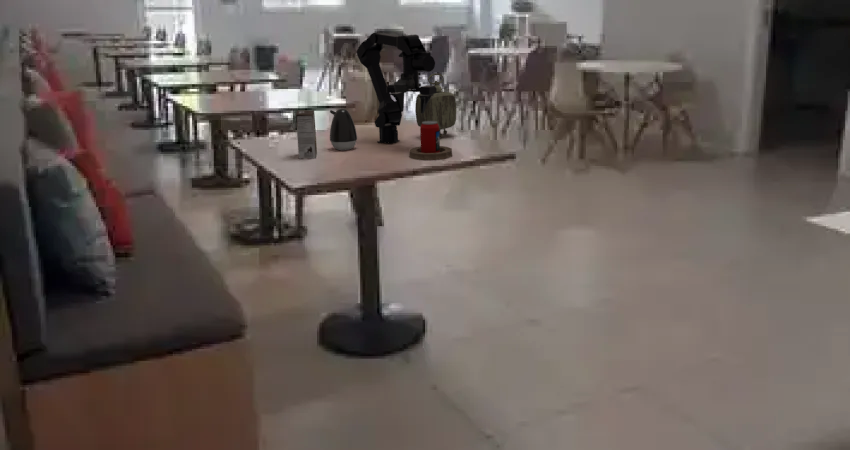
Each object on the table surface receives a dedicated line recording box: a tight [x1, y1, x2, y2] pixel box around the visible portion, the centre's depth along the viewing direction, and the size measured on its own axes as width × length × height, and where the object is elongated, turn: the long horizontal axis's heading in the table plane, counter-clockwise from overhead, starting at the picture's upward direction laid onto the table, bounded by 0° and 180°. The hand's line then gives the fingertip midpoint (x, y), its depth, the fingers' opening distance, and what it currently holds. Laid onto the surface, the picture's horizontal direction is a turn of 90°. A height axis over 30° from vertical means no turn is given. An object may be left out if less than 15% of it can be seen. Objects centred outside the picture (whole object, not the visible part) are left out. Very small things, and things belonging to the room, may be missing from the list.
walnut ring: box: [409, 145, 453, 161], centre depth 293 cm, size 15×15×2 cm
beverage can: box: [419, 121, 441, 153], centre depth 292 cm, size 7×7×12 cm
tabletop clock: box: [415, 72, 457, 138], centre depth 323 cm, size 14×9×25 cm, turn 121°
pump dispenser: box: [329, 108, 358, 151], centre depth 307 cm, size 10×10×15 cm
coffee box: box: [295, 109, 318, 160], centre depth 296 cm, size 9×6×16 cm
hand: (412, 112), depth 305 cm, fingers open, 9 cm apart
